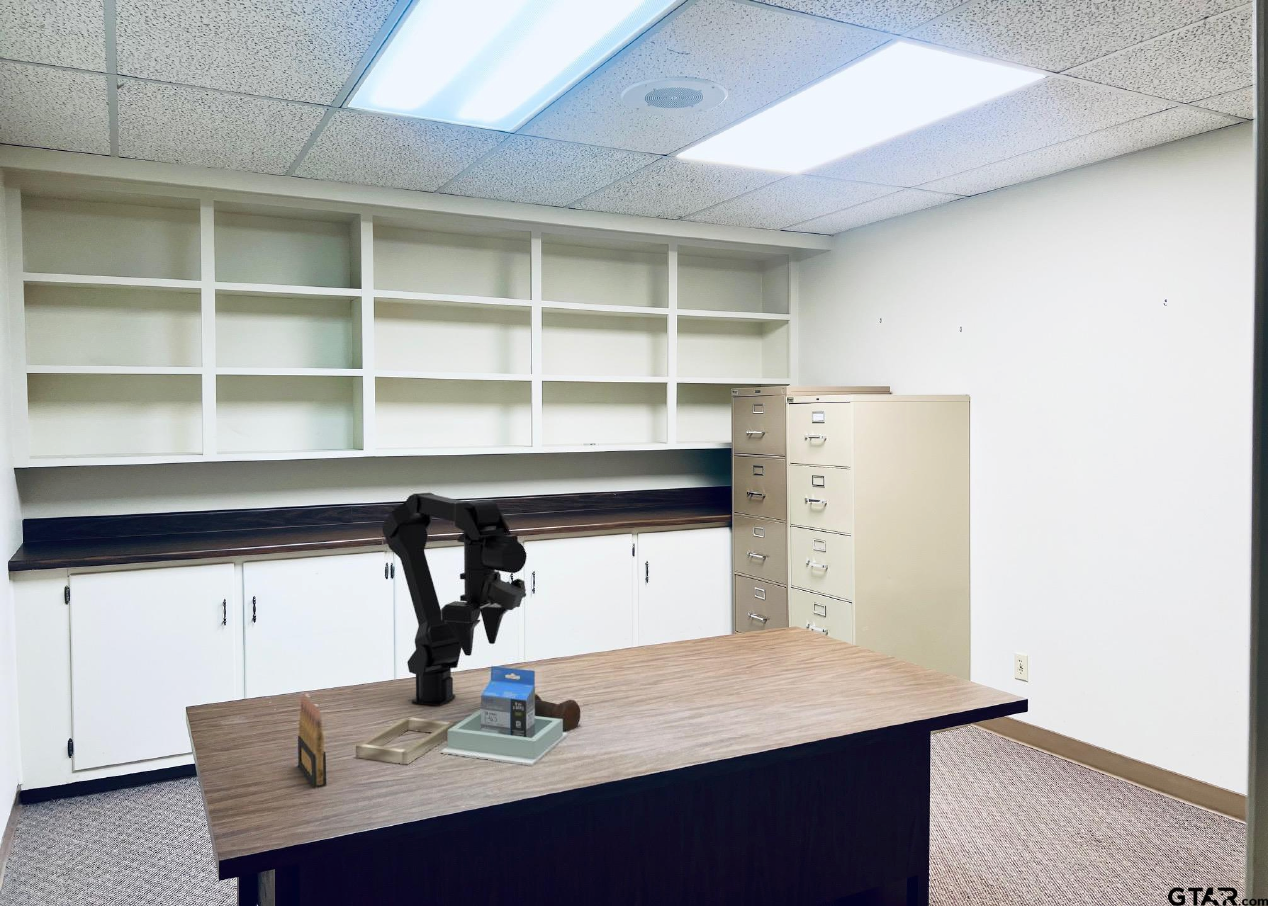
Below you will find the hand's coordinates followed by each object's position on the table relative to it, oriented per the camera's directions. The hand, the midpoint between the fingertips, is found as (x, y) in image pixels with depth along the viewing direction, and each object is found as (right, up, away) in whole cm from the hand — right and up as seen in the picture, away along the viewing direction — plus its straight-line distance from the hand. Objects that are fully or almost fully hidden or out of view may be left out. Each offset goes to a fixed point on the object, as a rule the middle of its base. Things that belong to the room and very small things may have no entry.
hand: (480, 649), depth 166 cm
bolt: (+12, -13, -1) cm, 18 cm away
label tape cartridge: (+7, -13, -13) cm, 20 cm away
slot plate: (+7, -13, -14) cm, 20 cm away
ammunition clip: (-22, -14, -27) cm, 38 cm away
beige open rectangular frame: (-10, -14, -14) cm, 22 cm away
